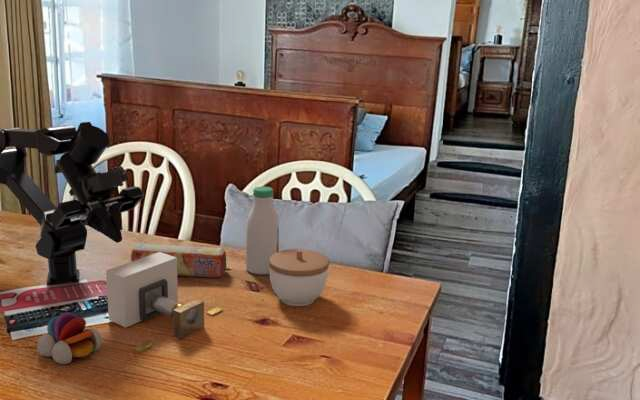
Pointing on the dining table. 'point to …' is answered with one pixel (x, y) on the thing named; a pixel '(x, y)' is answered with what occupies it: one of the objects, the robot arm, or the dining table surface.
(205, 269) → the snack package
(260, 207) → the milk bottle
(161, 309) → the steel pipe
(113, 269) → the sleeve
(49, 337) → the rainbow petal fan
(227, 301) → the dining table surface
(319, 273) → the lidded bowl
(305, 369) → the dining table surface
